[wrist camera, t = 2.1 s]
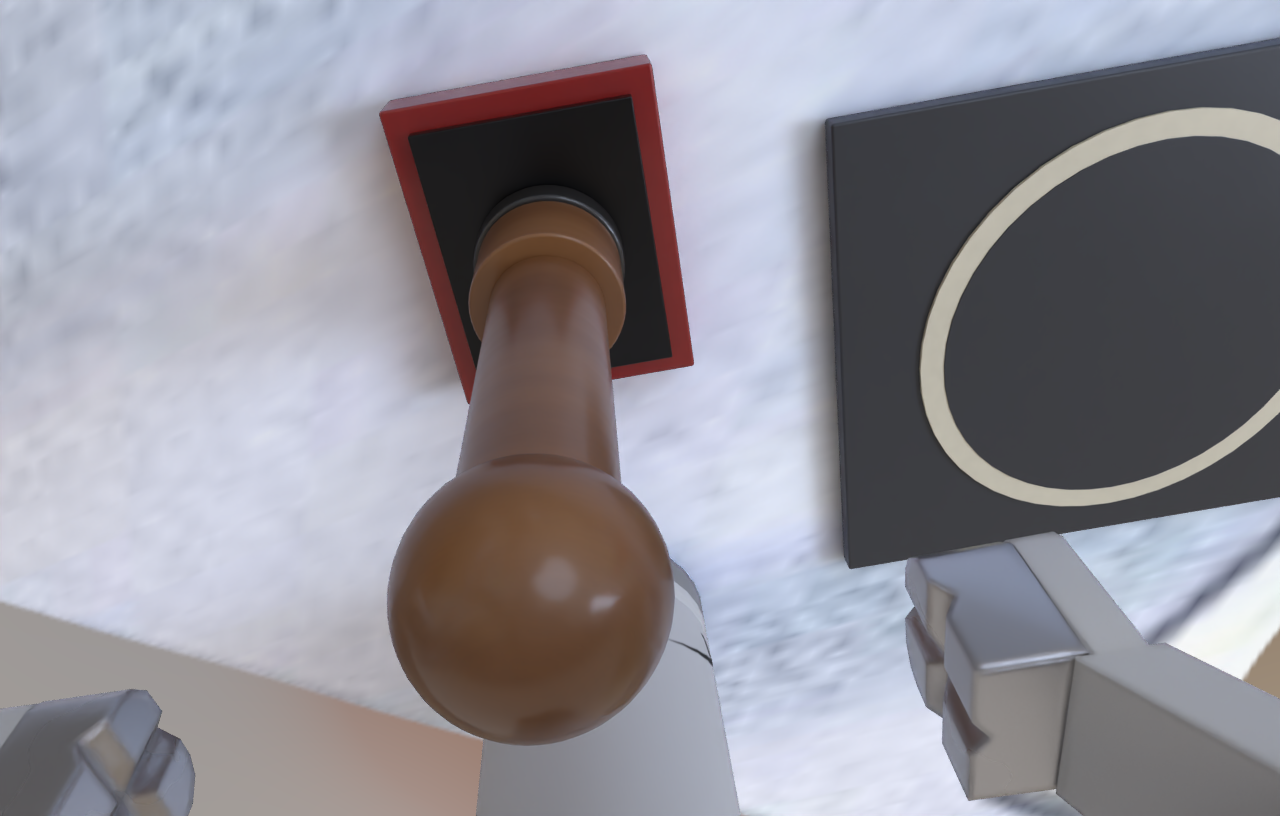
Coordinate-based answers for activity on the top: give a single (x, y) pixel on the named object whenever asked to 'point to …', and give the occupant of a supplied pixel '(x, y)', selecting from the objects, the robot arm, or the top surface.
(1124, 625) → the robot arm
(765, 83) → the top surface
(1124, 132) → the dark grey square plate
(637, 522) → the dot stamp
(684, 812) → the travel mug
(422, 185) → the ink pad
